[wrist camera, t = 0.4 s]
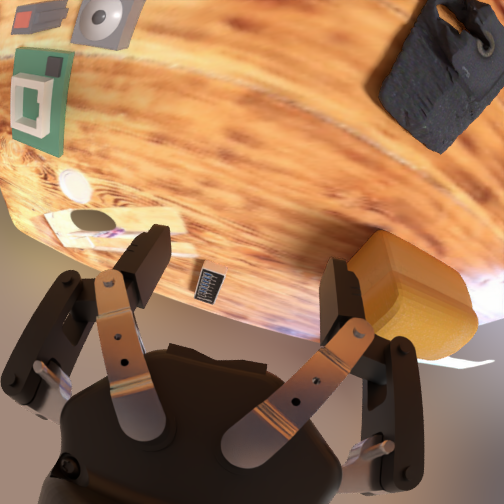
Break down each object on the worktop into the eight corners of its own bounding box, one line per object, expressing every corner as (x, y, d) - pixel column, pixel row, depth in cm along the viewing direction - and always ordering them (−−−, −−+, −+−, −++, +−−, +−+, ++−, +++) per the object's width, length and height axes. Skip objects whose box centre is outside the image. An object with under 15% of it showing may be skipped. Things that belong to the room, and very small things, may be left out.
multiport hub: (228, 265, 49) (226, 275, 47) (216, 296, 56) (213, 305, 55) (205, 257, 48) (201, 267, 46) (196, 289, 56) (193, 298, 54)
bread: (463, 273, 41) (485, 340, 30) (421, 307, 50) (433, 370, 40) (379, 224, 37) (401, 311, 27) (334, 274, 46) (337, 353, 36)
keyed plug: (47, 0, 14) (16, 6, 10) (71, -1, 16) (39, 3, 11) (40, 26, 17) (9, 34, 13) (63, 26, 19) (31, 34, 14)
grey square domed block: (99, -12, 15) (84, -12, 13) (149, -9, 17) (136, -10, 15) (82, 40, 21) (68, 43, 19) (127, 48, 23) (114, 51, 20)
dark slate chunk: (351, 85, 24) (361, 93, 21) (442, -27, 9) (462, -31, 6) (436, 160, 28) (451, 179, 25) (517, 63, 13) (539, 72, 10)
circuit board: (21, 47, 19) (7, 52, 17) (74, 52, 22) (59, 57, 20) (16, 135, 31) (5, 144, 29) (63, 154, 34) (51, 164, 32)
